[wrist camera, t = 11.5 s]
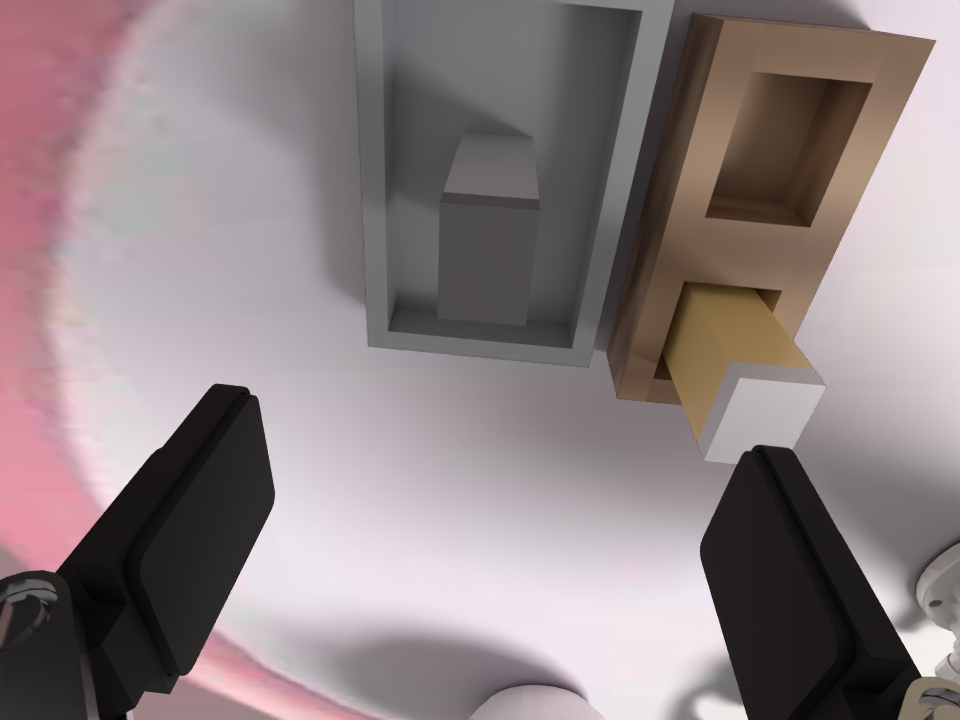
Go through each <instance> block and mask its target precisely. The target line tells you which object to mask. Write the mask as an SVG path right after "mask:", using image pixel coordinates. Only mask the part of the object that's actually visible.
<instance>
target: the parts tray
mask: <svg viewBox="0 0 960 720" xmlns="http://www.w3.org/2000/svg"><path fill="white" fill-rule="evenodd" d="M674 3H675V0H353V5H354V29H355V53H356V76H357V100H358V123H359V147H360V171H361V194H362V218H363V241H364V265H365V289H366V312H367V336H368V347H378V348H389V349H399V350H410V351H420V352H431V353H441V354H451V355H462V356H472V357H483V358H493V359H504V360H514V361H524V362H535V363H545V364H556V365H566V366H576V367H587V368H589V364H590V360H591V356H592V351H593V347H594V343H595V339H596V334H597V330H598V326H599V322H600V317H601V313H602V309H603V305H604V300H605V296H606V292H607V288H608V283H609V279H610V275H611V271H612V266H613V262H614V258H615V254H616V249H617V245H618V241H619V237H620V232H621V228H622V224H623V220H624V215H625V211H626V207H627V203H628V198H629V194H630V190H631V186H632V181H633V177H634V173H635V169H636V164H637V160H638V156H639V152H640V147H641V143H642V139H643V135H644V130H645V126H646V122H647V118H648V113H649V109H650V105H651V101H652V96H653V92H654V88H655V84H656V79H657V75H658V71H659V67H660V62H661V58H662V54H663V50H664V45H665V41H666V37H667V33H668V28H669V24H670V20H671V16H672V11H673V7H674ZM463 132H469V133H481V134H494V135H507V136H520V137H533V143H534V153H535V163H536V173H537V182H538V192H539V202H540V218H539V226H538V233H537V241H536V249H535V257H534V265H533V273H532V281H531V289H530V297H529V305H528V312H527V320H526V326H523V325H511V324H498V323H486V322H473V321H461V320H449V319H437V311H438V262H439V213H440V200H441V197H442V194H443V191H444V188H445V185H446V182H447V179H448V176H449V173H450V170H451V167H452V164H453V161H454V158H455V155H456V152H457V149H458V146H459V143H460V140H461V137H462V134H463Z"/></svg>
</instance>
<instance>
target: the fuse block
mask: <svg viewBox="0 0 960 720" xmlns="http://www.w3.org/2000/svg"><path fill="white" fill-rule="evenodd" d="M935 42H936V40H930V39H924V38H918V37H912V36H905V35H899V34H893V33H886V32H880V31H874V30H864V29H854V28H844V27H834V26H823V25H813V24H803V23H792V22H782V21H772V20H761V19H751V18H741V17H731V16H720V15H710V14H700V13H693V14H692V18H691V22H690V26H689V30H688V34H687V38H686V41H685V45H684V49H683V53H682V57H681V61H680V65H679V69H678V73H677V77H676V81H675V85H674V89H673V93H672V97H671V101H670V105H669V109H668V113H667V116H666V120H665V124H664V128H663V132H662V136H661V140H660V144H659V148H658V152H657V156H656V160H655V164H654V168H653V172H652V176H651V180H650V184H649V188H648V191H647V195H646V199H645V203H644V207H643V211H642V215H641V219H640V223H639V227H638V231H637V235H636V239H635V243H634V247H633V251H632V255H631V259H630V262H629V266H628V270H627V274H626V278H625V282H624V286H623V290H622V294H621V298H620V302H619V306H618V310H617V314H616V318H615V322H614V326H613V330H612V334H611V337H610V341H609V345H608V349H607V358H608V362H609V366H610V370H611V375H612V379H613V383H614V387H615V391H616V396H617V399H624V400H635V401H645V402H656V403H666V404H677V405H682V403H681V400H680V398H679V395H678V392H677V390H676V387H675V385H674V382H673V379H672V377H671V374H670V372H669V369H668V366H667V364H666V361H665V359H664V356H663V354H662V349H663V346H664V343H665V340H666V336H667V333H668V330H669V327H670V324H671V321H672V318H673V315H674V312H675V308H676V305H677V302H678V299H679V296H680V293H681V290H682V287H683V283H684V281H689V282H699V283H709V284H720V285H730V286H741V287H751V288H754V290H755V291H756V292H757V294H758V295H759V296H760V298H761V299H762V300H763V302H764V303H765V304H766V306H767V307H768V308H769V310H770V311H771V312H772V314H773V315H774V316H775V318H776V319H777V320H778V322H779V323H780V324H781V326H782V327H783V328H784V330H785V331H786V332H787V334H788V335H789V336H790V338H791V339H792V340H794V338H795V336H796V333H797V331H798V329H799V327H800V325H801V323H802V321H803V319H804V317H805V315H806V312H807V310H808V308H809V306H810V304H811V302H812V300H813V298H814V296H815V294H816V292H817V289H818V287H819V285H820V283H821V281H822V279H823V277H824V275H825V273H826V271H827V269H828V266H829V264H830V262H831V260H832V258H833V256H834V254H835V252H836V250H837V248H838V245H839V243H840V241H841V239H842V237H843V235H844V233H845V231H846V229H847V227H848V225H849V222H850V220H851V218H852V216H853V214H854V212H855V210H856V208H857V206H858V204H859V201H860V199H861V197H862V195H863V193H864V191H865V189H866V187H867V185H868V183H869V181H870V178H871V176H872V174H873V172H874V170H875V168H876V166H877V164H878V162H879V160H880V158H881V155H882V153H883V151H884V149H885V147H886V145H887V143H888V141H889V139H890V137H891V134H892V132H893V130H894V128H895V126H896V124H897V122H898V120H899V118H900V116H901V114H902V111H903V109H904V107H905V105H906V103H907V101H908V99H909V97H910V95H911V93H912V90H913V88H914V86H915V84H916V82H917V80H918V78H919V76H920V74H921V72H922V70H923V67H924V65H925V63H926V61H927V59H928V57H929V55H930V53H931V51H932V49H933V46H934V44H935Z"/></svg>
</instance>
